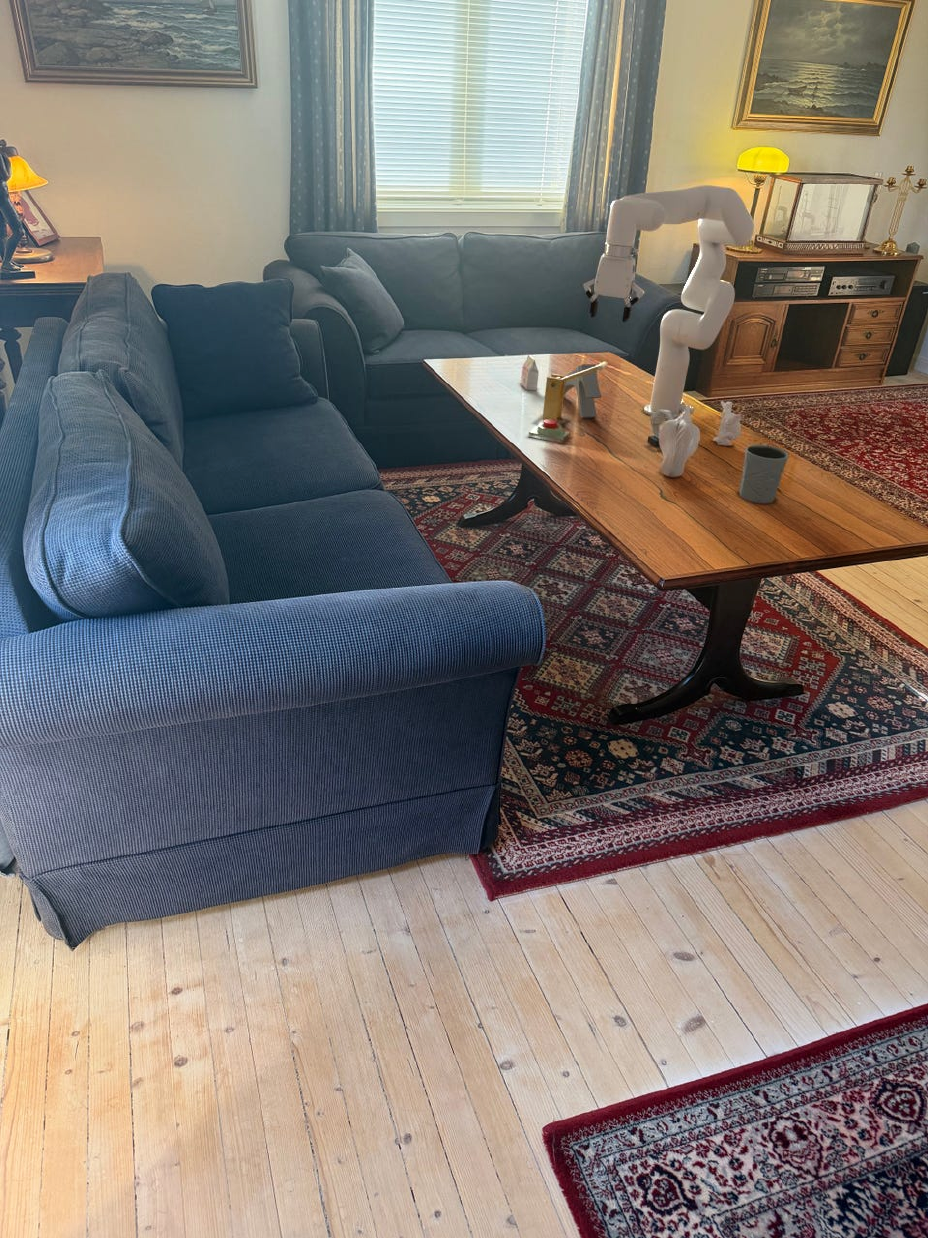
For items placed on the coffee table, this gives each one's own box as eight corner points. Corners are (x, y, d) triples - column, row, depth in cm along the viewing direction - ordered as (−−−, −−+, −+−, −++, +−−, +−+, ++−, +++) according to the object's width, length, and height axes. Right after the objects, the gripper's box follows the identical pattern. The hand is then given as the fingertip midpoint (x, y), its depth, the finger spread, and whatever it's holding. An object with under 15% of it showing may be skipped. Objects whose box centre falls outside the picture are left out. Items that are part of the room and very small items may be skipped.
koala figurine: (705, 439, 247) (713, 399, 241) (723, 437, 250) (732, 398, 244) (723, 449, 241) (732, 408, 235) (741, 447, 243) (751, 407, 237)
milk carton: (531, 384, 287) (534, 354, 282) (536, 389, 282) (539, 359, 277) (520, 384, 287) (523, 354, 281) (526, 389, 281) (529, 359, 276)
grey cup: (770, 508, 206) (782, 461, 200) (730, 497, 210) (741, 452, 204) (780, 495, 213) (792, 450, 207) (741, 485, 218) (752, 441, 211)
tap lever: (608, 366, 241) (606, 358, 240) (603, 371, 237) (600, 362, 236) (556, 385, 250) (553, 378, 249) (550, 390, 246) (547, 382, 245)
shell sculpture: (670, 482, 216) (683, 414, 207) (650, 471, 222) (662, 404, 213) (694, 478, 220) (709, 411, 210) (674, 467, 226) (687, 402, 216)
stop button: (558, 426, 240) (559, 420, 239) (554, 430, 237) (555, 424, 236) (545, 424, 241) (546, 418, 240) (541, 427, 238) (541, 421, 237)
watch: (658, 442, 243) (665, 405, 237) (674, 452, 237) (682, 414, 231) (642, 444, 241) (649, 406, 235) (658, 453, 235) (665, 415, 229)
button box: (568, 437, 242) (570, 425, 240) (561, 444, 236) (562, 432, 235) (536, 431, 245) (537, 419, 243) (528, 437, 240) (529, 425, 238)
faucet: (549, 430, 277) (585, 418, 248) (546, 378, 275) (583, 360, 246) (566, 429, 279) (604, 417, 250) (564, 378, 277) (602, 360, 248)
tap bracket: (568, 420, 255) (574, 375, 248) (559, 428, 248) (564, 382, 241) (543, 415, 258) (548, 370, 251) (534, 423, 251) (538, 377, 244)
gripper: (653, 253, 223) (642, 320, 232) (591, 246, 229) (583, 312, 238) (647, 256, 217) (636, 325, 226) (583, 249, 223) (575, 316, 232)
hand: (609, 318), depth 232 cm, fingers open, 8 cm apart
